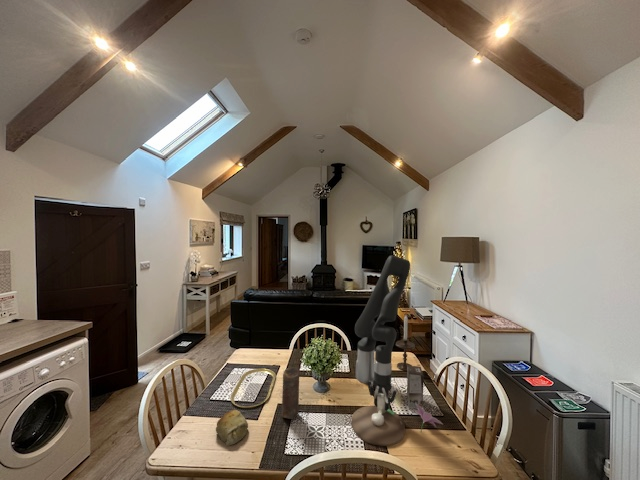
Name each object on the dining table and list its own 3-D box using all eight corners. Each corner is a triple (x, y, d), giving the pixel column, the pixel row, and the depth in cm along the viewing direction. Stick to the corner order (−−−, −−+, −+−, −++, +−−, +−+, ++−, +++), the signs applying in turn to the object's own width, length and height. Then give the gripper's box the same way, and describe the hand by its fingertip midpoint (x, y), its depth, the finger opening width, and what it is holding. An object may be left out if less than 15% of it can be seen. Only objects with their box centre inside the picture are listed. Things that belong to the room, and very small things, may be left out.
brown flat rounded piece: (340, 424, 119) (340, 420, 118) (371, 402, 134) (371, 399, 134) (385, 455, 103) (385, 451, 103) (414, 426, 118) (414, 422, 118)
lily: (445, 442, 111) (448, 415, 114) (420, 434, 109) (424, 407, 112) (425, 431, 122) (429, 407, 125) (402, 424, 120) (406, 399, 123)
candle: (301, 412, 126) (301, 368, 125) (294, 423, 119) (295, 377, 118) (286, 408, 129) (286, 365, 128) (278, 418, 122) (278, 373, 121)
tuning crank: (382, 427, 115) (382, 411, 115) (370, 423, 117) (370, 408, 117) (388, 409, 126) (388, 395, 126) (376, 406, 128) (377, 392, 128)
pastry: (222, 421, 120) (222, 403, 120) (251, 421, 120) (251, 403, 120) (209, 446, 106) (209, 426, 106) (242, 447, 106) (242, 426, 106)
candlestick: (416, 372, 163) (418, 312, 162) (398, 371, 163) (399, 312, 162) (411, 363, 174) (412, 307, 172) (393, 363, 174) (394, 307, 173)
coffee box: (423, 410, 129) (424, 375, 128) (408, 408, 130) (409, 374, 129) (420, 398, 138) (421, 366, 137) (406, 396, 139) (407, 364, 138)
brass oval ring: (224, 409, 128) (224, 406, 128) (246, 370, 163) (246, 368, 163) (265, 410, 128) (265, 407, 128) (278, 371, 163) (278, 368, 163)
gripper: (401, 371, 124) (399, 409, 124) (371, 362, 132) (370, 397, 132) (395, 379, 117) (394, 418, 118) (364, 368, 125) (363, 406, 126)
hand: (381, 407), depth 125 cm, fingers closed on tuning crank, 4 cm apart
